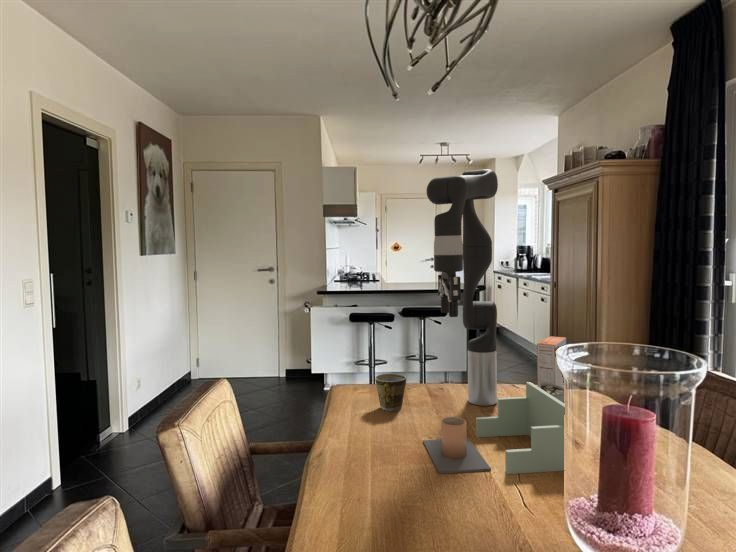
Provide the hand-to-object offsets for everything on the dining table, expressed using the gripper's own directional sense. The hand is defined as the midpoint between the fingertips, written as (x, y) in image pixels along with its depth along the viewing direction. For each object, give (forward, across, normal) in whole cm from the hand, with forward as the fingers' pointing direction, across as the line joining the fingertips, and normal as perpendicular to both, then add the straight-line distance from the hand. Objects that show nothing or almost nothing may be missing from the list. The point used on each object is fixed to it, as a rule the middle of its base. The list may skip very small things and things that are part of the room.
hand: (449, 314), depth 126 cm
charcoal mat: (+33, -11, +2) cm, 35 cm away
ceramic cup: (+33, +25, +13) cm, 44 cm away
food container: (+33, +6, -32) cm, 47 cm away
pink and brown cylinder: (+33, -11, +2) cm, 35 cm away
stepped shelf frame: (+33, -11, -14) cm, 38 cm away
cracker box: (+33, +22, -39) cm, 56 cm away
